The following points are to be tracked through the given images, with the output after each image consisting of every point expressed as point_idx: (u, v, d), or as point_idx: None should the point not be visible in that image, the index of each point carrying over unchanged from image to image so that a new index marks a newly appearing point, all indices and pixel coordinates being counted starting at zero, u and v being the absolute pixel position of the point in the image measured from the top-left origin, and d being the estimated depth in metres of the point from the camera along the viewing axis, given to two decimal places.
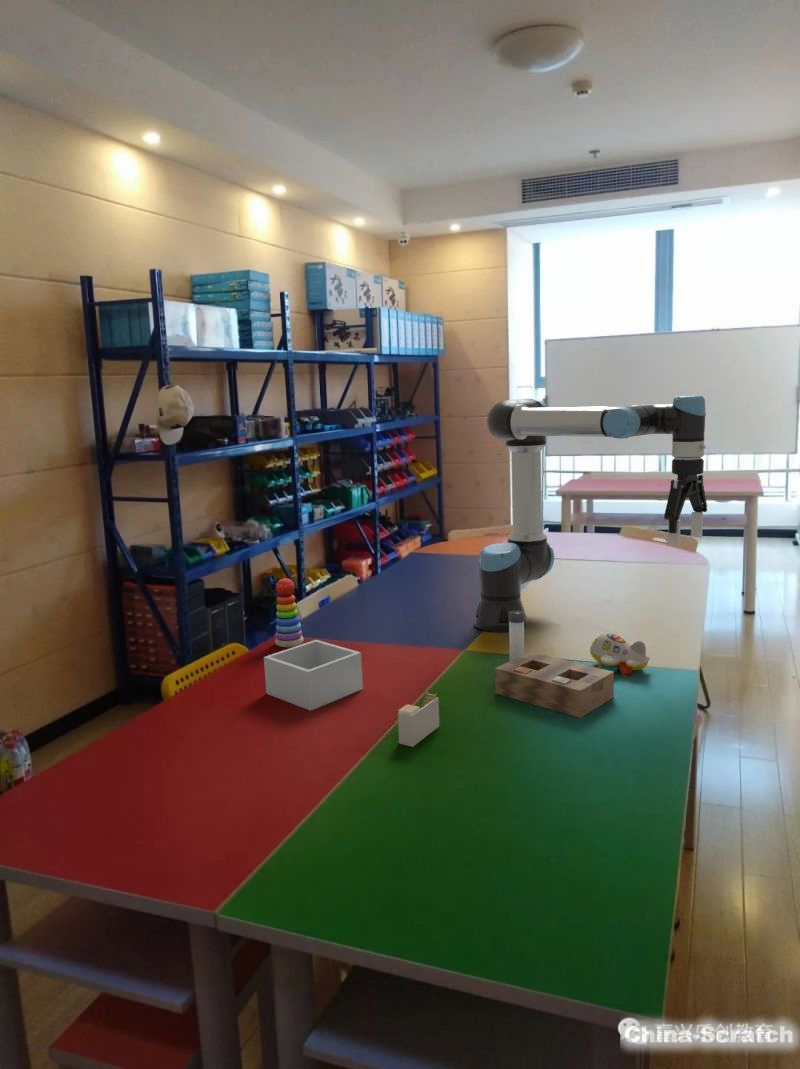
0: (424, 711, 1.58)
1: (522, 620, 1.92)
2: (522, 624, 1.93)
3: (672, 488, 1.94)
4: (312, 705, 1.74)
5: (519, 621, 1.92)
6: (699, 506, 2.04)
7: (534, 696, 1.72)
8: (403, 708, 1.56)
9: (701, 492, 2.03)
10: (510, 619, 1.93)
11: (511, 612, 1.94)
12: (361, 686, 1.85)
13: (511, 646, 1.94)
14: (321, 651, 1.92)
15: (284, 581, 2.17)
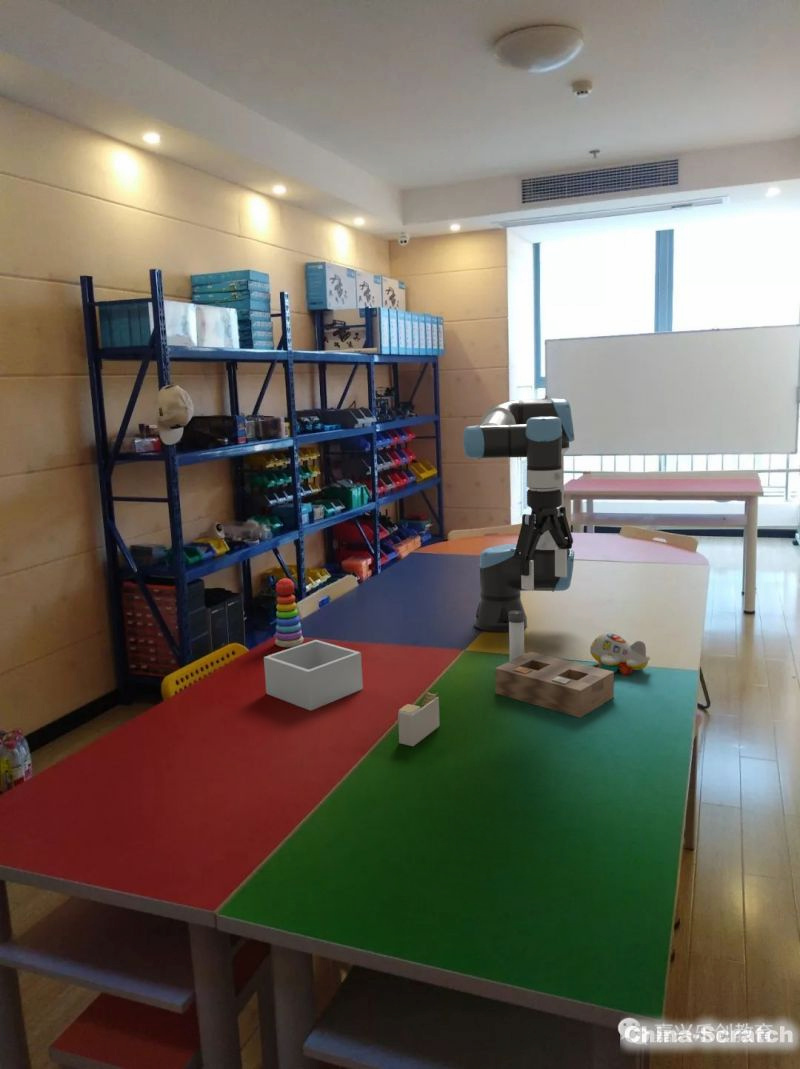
0: (425, 711, 1.58)
1: (522, 620, 1.92)
2: (522, 624, 1.93)
3: (523, 524, 1.68)
4: (312, 705, 1.74)
5: (519, 621, 1.92)
6: (562, 542, 1.78)
7: (534, 696, 1.72)
8: (403, 708, 1.56)
9: (565, 526, 1.78)
10: (510, 619, 1.93)
11: (511, 612, 1.94)
12: (361, 686, 1.85)
13: (511, 646, 1.94)
14: (321, 651, 1.92)
15: (284, 581, 2.17)
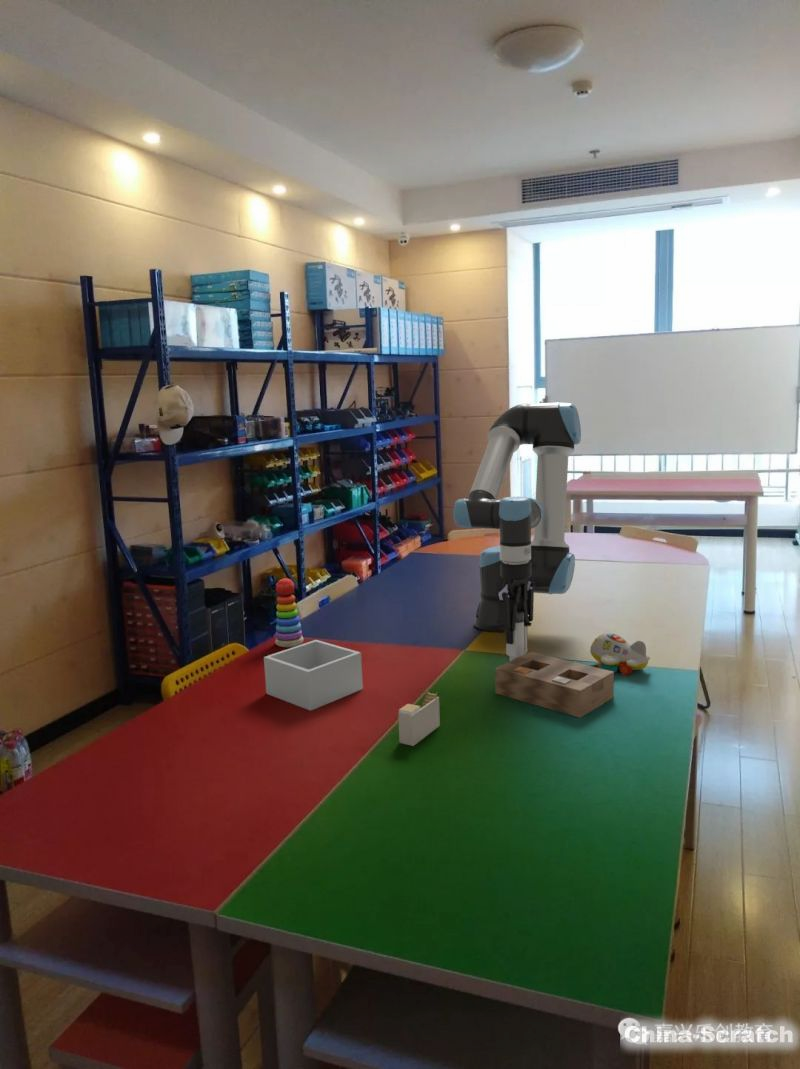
0: (425, 710, 1.58)
1: (522, 620, 1.92)
2: (522, 624, 1.93)
3: (499, 600, 1.89)
4: (312, 705, 1.74)
5: (519, 621, 1.92)
6: (524, 617, 1.94)
7: (534, 696, 1.72)
8: (404, 707, 1.56)
9: (530, 600, 1.95)
10: None
11: None
12: (361, 686, 1.85)
13: None
14: (321, 651, 1.92)
15: (284, 581, 2.17)
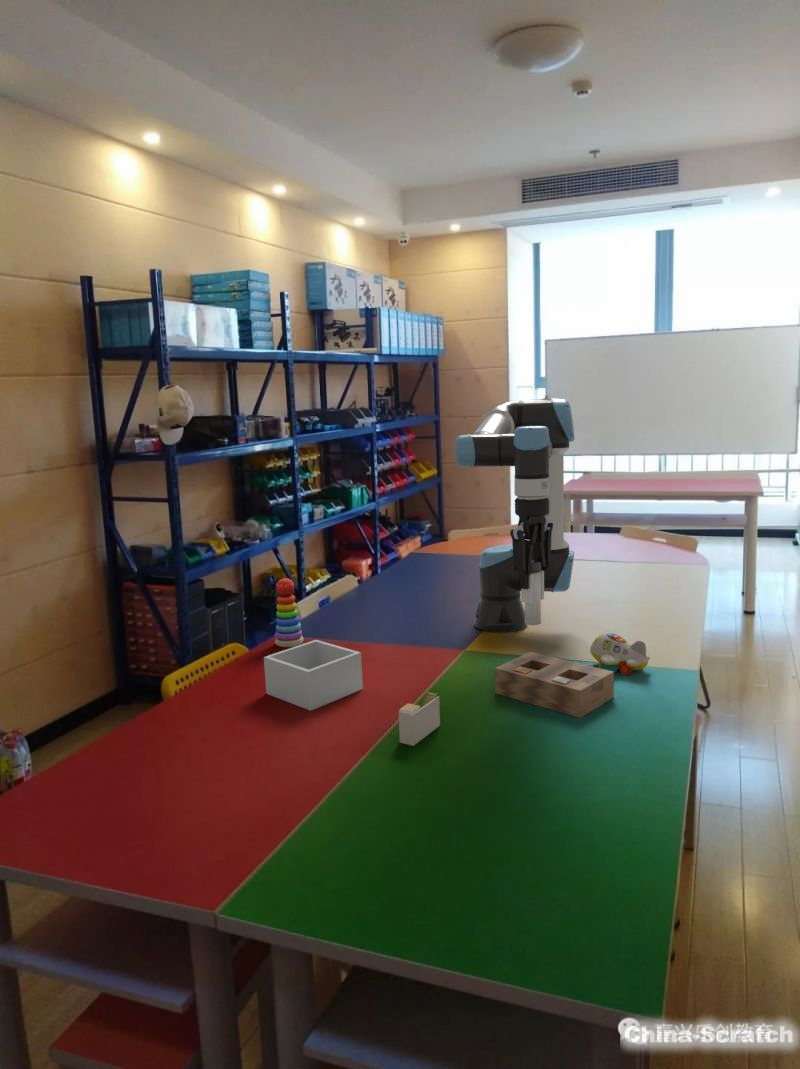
0: (425, 710, 1.58)
1: (539, 570, 1.74)
2: (539, 575, 1.75)
3: (514, 539, 1.71)
4: (312, 705, 1.74)
5: (535, 571, 1.74)
6: (541, 560, 1.76)
7: (534, 696, 1.72)
8: (404, 707, 1.56)
9: (547, 542, 1.77)
10: None
11: None
12: (361, 686, 1.85)
13: None
14: (321, 651, 1.92)
15: (284, 581, 2.17)
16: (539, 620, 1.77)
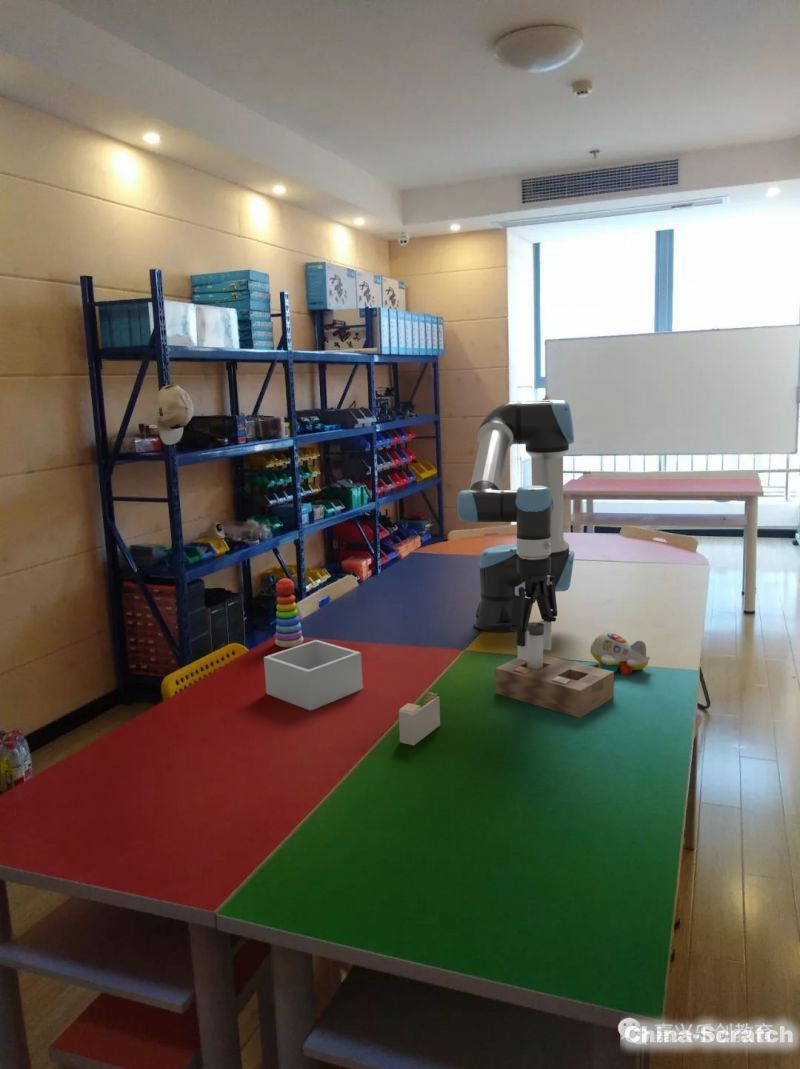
0: (425, 710, 1.58)
1: (541, 633, 1.77)
2: (541, 637, 1.77)
3: (514, 596, 1.72)
4: (312, 705, 1.74)
5: (538, 634, 1.76)
6: (547, 613, 1.80)
7: (534, 696, 1.72)
8: (404, 707, 1.57)
9: (552, 596, 1.80)
10: None
11: (529, 624, 1.78)
12: (361, 686, 1.85)
13: (529, 661, 1.78)
14: (321, 651, 1.92)
15: (284, 581, 2.17)
16: None
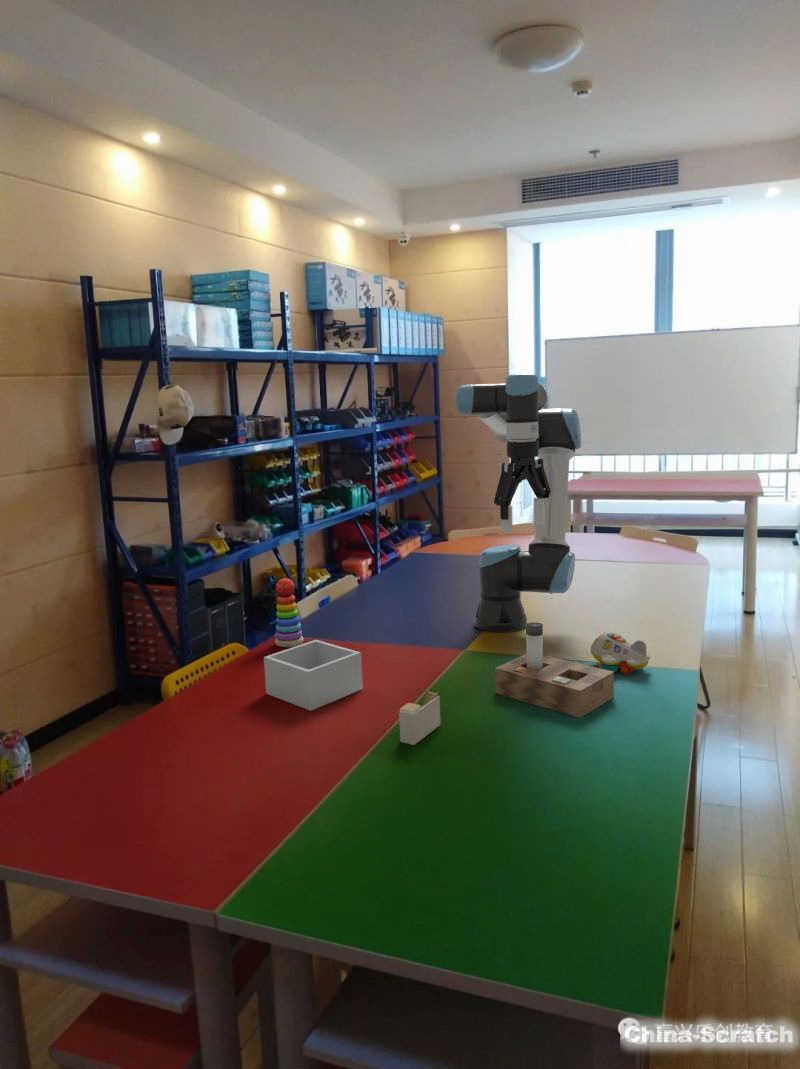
0: (426, 709, 1.59)
1: (541, 633, 1.77)
2: (541, 637, 1.77)
3: (503, 472, 1.83)
4: (312, 705, 1.74)
5: (537, 634, 1.76)
6: (540, 492, 1.92)
7: (534, 696, 1.72)
8: (404, 706, 1.57)
9: (542, 477, 1.92)
10: (527, 632, 1.77)
11: (528, 624, 1.78)
12: (361, 686, 1.85)
13: (529, 661, 1.78)
14: (321, 651, 1.92)
15: (284, 581, 2.17)
16: None
